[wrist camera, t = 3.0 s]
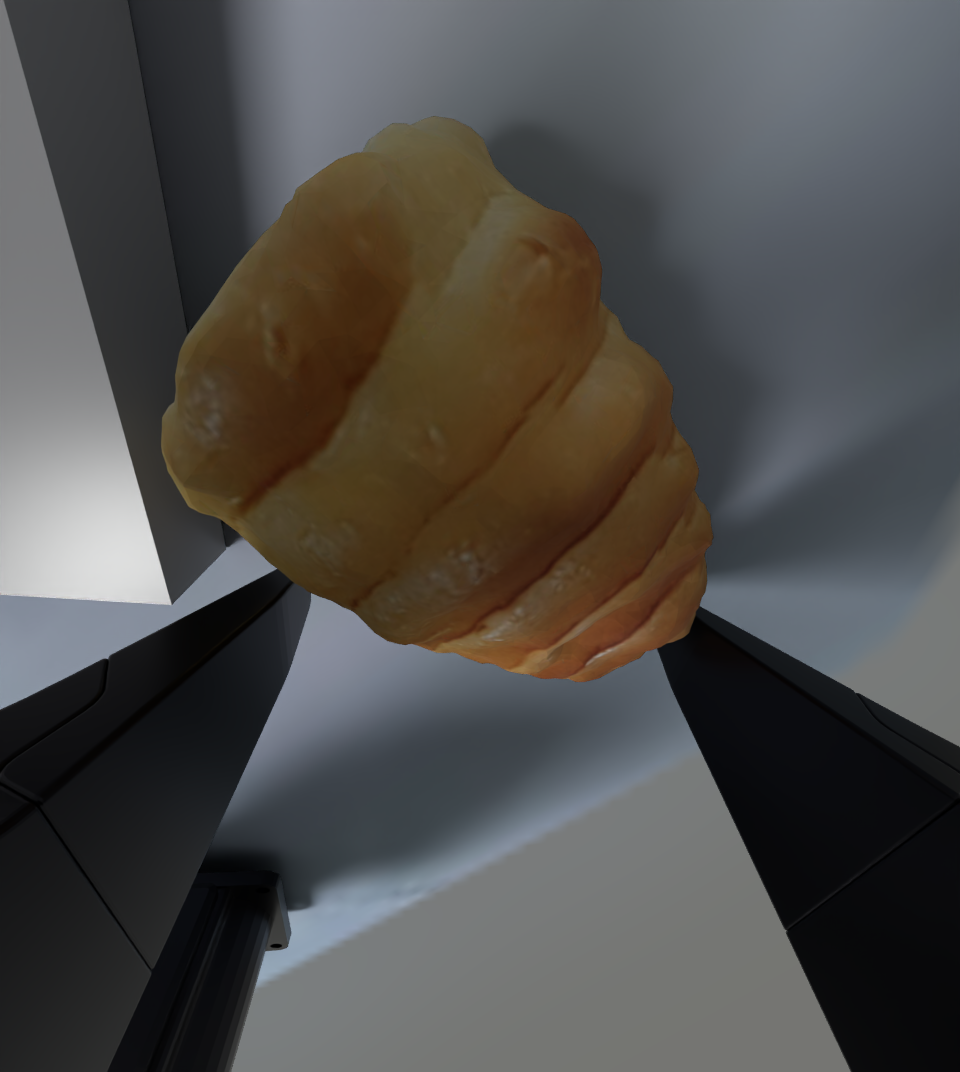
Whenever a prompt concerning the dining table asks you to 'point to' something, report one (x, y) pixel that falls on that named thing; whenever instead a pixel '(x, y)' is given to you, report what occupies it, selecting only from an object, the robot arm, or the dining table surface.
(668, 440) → the pastry
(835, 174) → the dining table surface
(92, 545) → the scale
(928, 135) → the dining table surface
